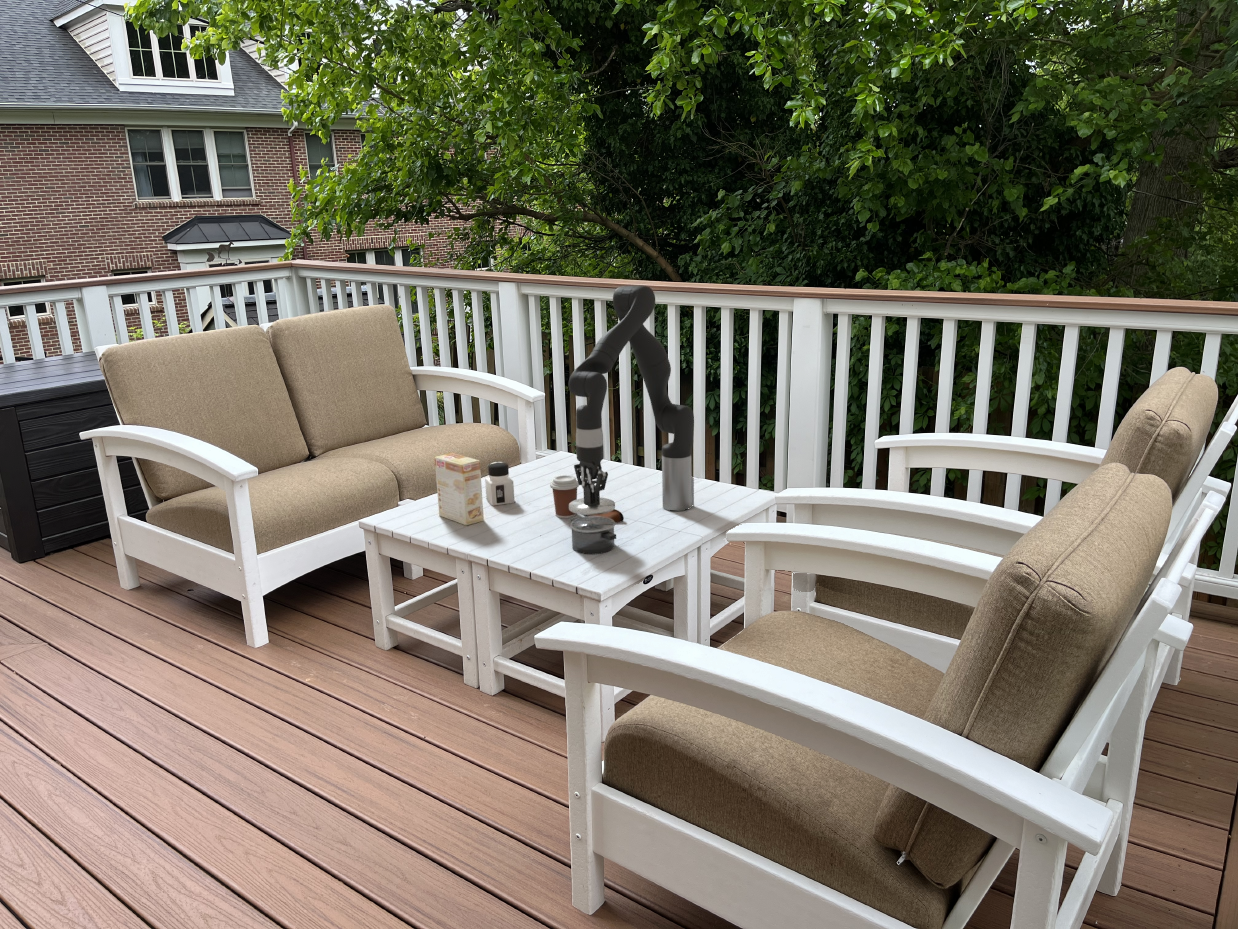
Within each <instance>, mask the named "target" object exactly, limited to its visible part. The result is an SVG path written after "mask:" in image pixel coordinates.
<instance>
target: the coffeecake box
mask: <svg viewBox="0 0 1238 929" xmlns="http://www.w3.org/2000/svg"><path fill="white" fill-rule="evenodd" d="M434 467H435V479H436V491H437V503H438V505H437V506H438V515H439V517H442V518H445V519H448V520H451V521H452V522H456V523H459V524H461V525H464V526H469V525H473V524H477V523H480V522H484V521H485V518H484V504H483V488H482V486H483V485H482V474H481V471H482V470H481V460H479V459H477V458H476V459H475V458H473V457H469V456H465V455H461V454H457V453H454V452H450V453H449V452H448V453H445V454H441V455H437V456H434Z"/></svg>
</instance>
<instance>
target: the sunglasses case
mask: <svg viewBox="0 0 1238 929" xmlns="http://www.w3.org/2000/svg"><path fill="white" fill-rule="evenodd" d="M589 516H601V517H607V518H610V519H612V520H614V522H615V524H616V523H621V522H623V521H624V517H625V516H624V515H623V513H622V512H621V511H620V510H618V509H617V508H615V509H614V510H612V511H610V512H608V513H604V514H598V515H583V517H589Z"/></svg>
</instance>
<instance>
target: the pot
mask: <svg viewBox="0 0 1238 929" xmlns="http://www.w3.org/2000/svg"><path fill="white" fill-rule="evenodd" d="M569 522H570V523H569V524H570V529H571V543H572V544H571V546H572V550H573V551H575V553H579V554H584V555H601V554H606V553H608V552H610V551H612V550H614V548H615V540H616V539H617V534H616V533H615V525H616V523H615V522H614V520H612V519H610V518H607V517H601V516H589V517H586V516H583V517H574V518H573V517H572V518H571V519H570V520H569Z"/></svg>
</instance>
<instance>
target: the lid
mask: <svg viewBox="0 0 1238 929" xmlns="http://www.w3.org/2000/svg"><path fill="white" fill-rule="evenodd" d="M594 486H596V484H594ZM582 489H583V490H582V491H583V498H582V497H581V498H577V500H574V501H572V502H570V503H569V510H570V511H571V512H573V513H576V515H581V516H584V515H598V514H604V513H608V512H610V511H612V510H614V509H616V502H615V501H614V500H612V499H611V498H606V497H600V503H599V504H596V505H593V504H592V493H591V492H592V491H591V485H587V486H583V488H582Z"/></svg>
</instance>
